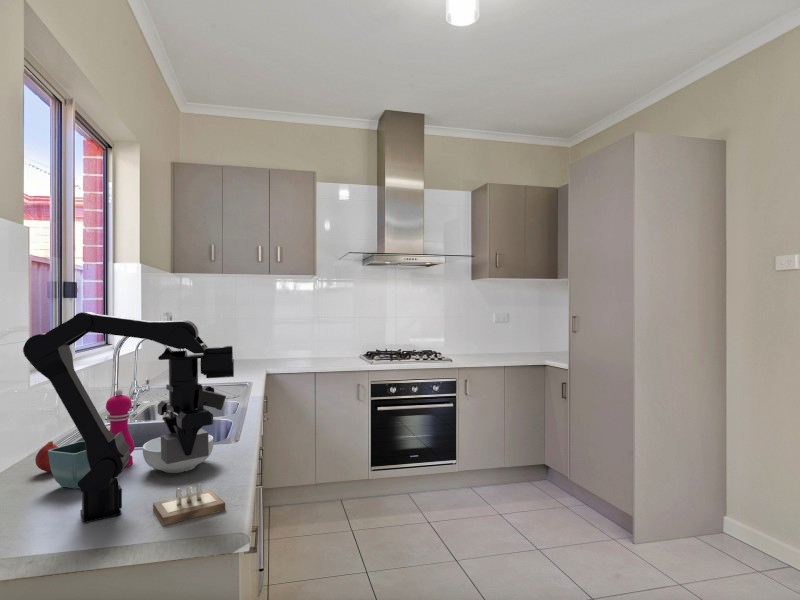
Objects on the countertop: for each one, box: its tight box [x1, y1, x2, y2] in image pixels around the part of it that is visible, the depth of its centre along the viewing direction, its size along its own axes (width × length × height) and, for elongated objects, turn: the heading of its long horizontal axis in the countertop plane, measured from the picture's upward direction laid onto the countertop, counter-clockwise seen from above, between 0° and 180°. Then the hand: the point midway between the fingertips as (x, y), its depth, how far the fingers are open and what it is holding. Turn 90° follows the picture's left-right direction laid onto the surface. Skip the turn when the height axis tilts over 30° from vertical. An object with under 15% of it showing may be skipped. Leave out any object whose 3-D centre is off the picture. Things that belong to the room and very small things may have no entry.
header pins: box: [175, 483, 203, 506], centre depth 106 cm, size 5×1×4 cm, turn 127°
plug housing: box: [160, 428, 210, 464], centre depth 109 cm, size 8×4×5 cm, turn 130°
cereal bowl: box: [142, 433, 214, 474], centre depth 132 cm, size 17×17×7 cm
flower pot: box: [48, 440, 90, 490], centre depth 120 cm, size 9×9×9 cm
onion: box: [34, 440, 59, 474], centre depth 129 cm, size 6×6×8 cm
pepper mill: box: [105, 388, 136, 468], centre depth 134 cm, size 7×7×20 cm
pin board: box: [152, 489, 226, 526], centre depth 106 cm, size 12×9×2 cm
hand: (184, 452), depth 109 cm, fingers closed on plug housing, 4 cm apart
